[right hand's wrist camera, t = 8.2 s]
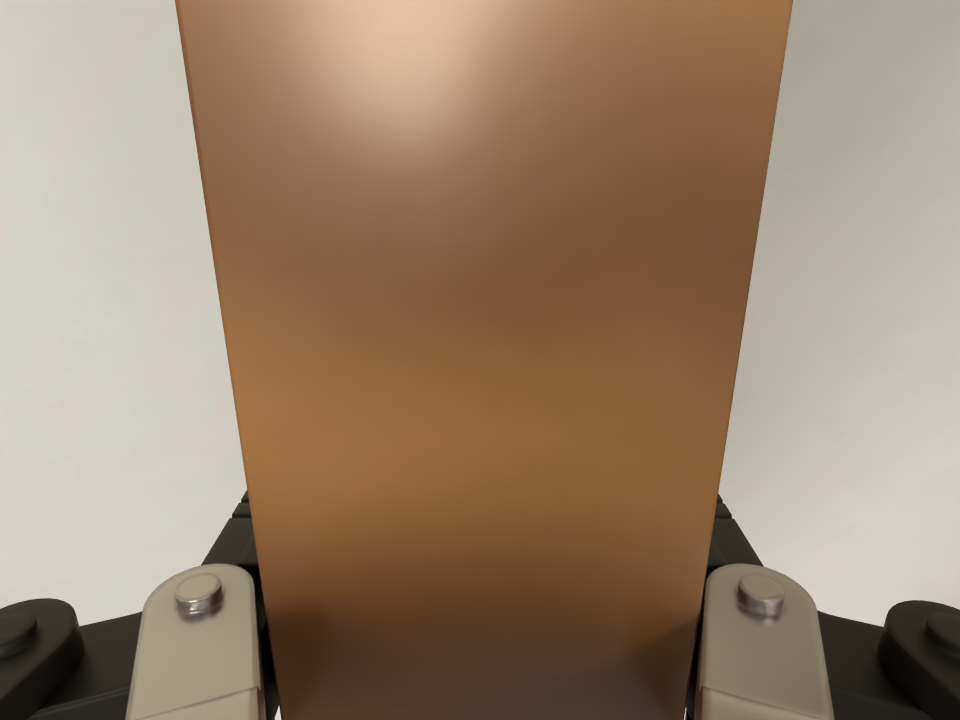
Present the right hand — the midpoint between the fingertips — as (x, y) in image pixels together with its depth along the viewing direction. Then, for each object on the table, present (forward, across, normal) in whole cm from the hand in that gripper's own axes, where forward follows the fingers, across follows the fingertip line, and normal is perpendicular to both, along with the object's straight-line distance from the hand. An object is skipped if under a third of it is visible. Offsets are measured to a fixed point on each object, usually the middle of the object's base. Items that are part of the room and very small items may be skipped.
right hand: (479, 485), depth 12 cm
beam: (+3, 0, -29) cm, 29 cm away
